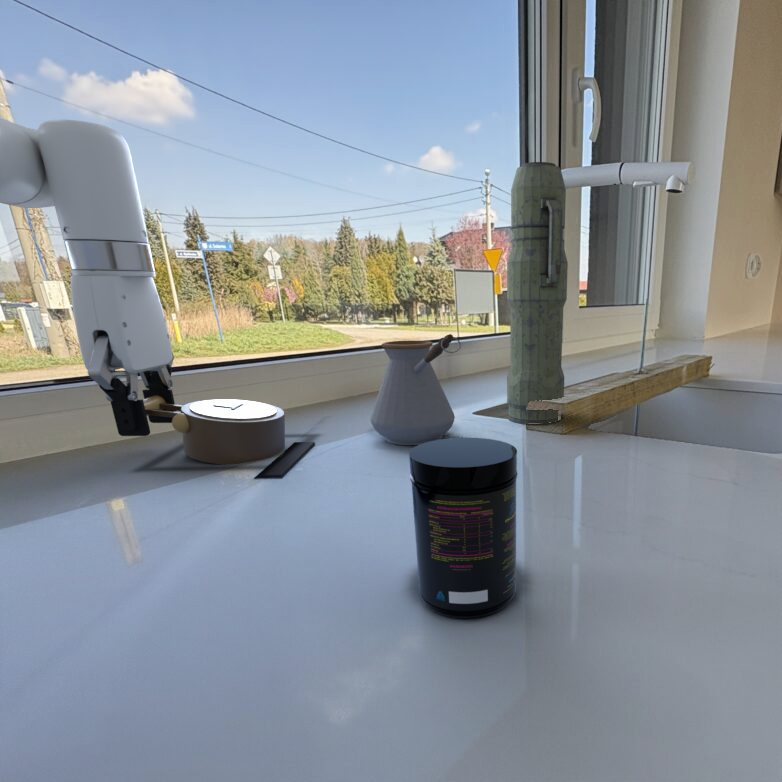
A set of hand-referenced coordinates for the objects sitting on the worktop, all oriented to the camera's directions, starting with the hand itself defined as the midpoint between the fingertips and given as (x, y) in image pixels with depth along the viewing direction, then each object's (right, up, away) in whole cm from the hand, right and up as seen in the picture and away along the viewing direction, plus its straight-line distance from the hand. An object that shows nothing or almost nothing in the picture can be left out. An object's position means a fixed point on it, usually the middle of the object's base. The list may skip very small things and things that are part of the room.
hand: (150, 427), depth 67 cm
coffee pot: (+31, -2, +8) cm, 33 cm away
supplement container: (+40, -16, -28) cm, 51 cm away
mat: (+9, -4, +2) cm, 10 cm away
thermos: (+47, +5, +24) cm, 52 cm away
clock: (+7, -2, +1) cm, 7 cm away
